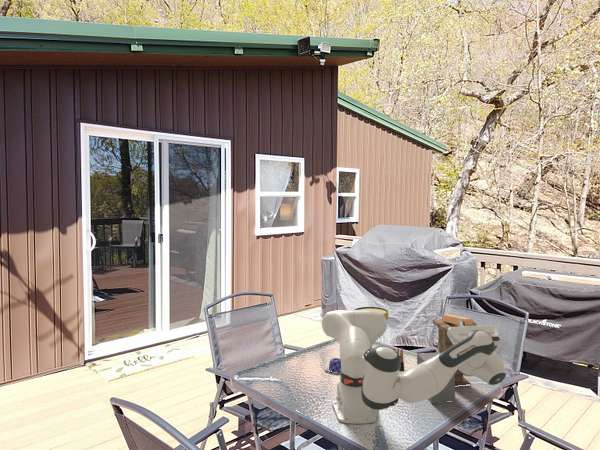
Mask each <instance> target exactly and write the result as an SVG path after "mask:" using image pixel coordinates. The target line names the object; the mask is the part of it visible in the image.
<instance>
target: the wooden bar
mask: <svg viewBox="0 0 600 450" xmlns="http://www.w3.org/2000/svg"><path fill="white" fill-rule="evenodd" d="M441 317H442V319H441V320H443V321H444V322H448V323H452V324H457V325H460V324H459V320H464V322H465V323H464V326H473V322H472V319H473V318H469V317H465V316H460V315H453V314H451V313H450V314H449V313H447V314H444V313H443V314H442V316H441Z"/></svg>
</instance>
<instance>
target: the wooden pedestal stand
mask: <svg viewBox="0 0 600 450" xmlns="http://www.w3.org/2000/svg"><path fill="white" fill-rule="evenodd" d="M432 324H433V325H434V326H436V327H437V328H438V329H437V335H438V337H437V340H438V342H437V343H438V346H437V347H438V350H437V351H438V352H439V353H442V352H444V351H445V350H447V349H448V348H450V347H452V346H453V344H452V342H451V341H450V339H449V337H448V336H447V331H448V329H449V327H460V325H457V324H452V323H448V322H444V321H443V319H432ZM438 352H437V353H438ZM466 384H470V385H471V382H470V381H469V380H468V379H466V377H465V376H464V375H462V374H461V373H459V372H458V371H456V372H455V386H458V385H466Z"/></svg>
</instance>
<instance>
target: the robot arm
mask: <svg viewBox="0 0 600 450" xmlns="http://www.w3.org/2000/svg"><path fill="white" fill-rule="evenodd" d="M471 319H472V322H473V326H464V323H465V322H464V320H459V324H460V327H449V329H448V331H447V336H448V337H449V339H450V341H451V342H452V344H453V346H452V347H450V348H448V349H447V350H445V351H444V352H442V353H440V354H438V355H436V356H435V357H433V358H431V359H429V360H427V361H425V362H422V363H420V364H418V365H417V364H416V365H414V366H412V367H410V368H408V369H407V370H404V371H399V369H400V366H401V360H400V355H399V354H400V353H399V354H398V353H397V350H396V349H395V350H396V351H395V350H394V348H392V347H390V346H388V345H387V346H386V345H378V346H374V347H373V345H374V344H375V343H376V341H377V340H378V339H380V338H381V337H382V336H384V335H385V333H386V330H387V327H388V323H387V322H388V320H386V318H385V316H384V315H383V314H382V313H381V312H378V311H373V310H355V309H337V310H331V311H327V312H326V313H325V314H324V315H323V316H322V320H321V328H322V331H323V333H324V335H326V336H327V337H329V338H332V339H334V340H335V341H337V342H338V343H339V358H340V360H341V370H340V373H339V379H340V380H339V382H338V383H337V384H336V400H333V401H332V402H331V406H332V408H333V411H334V413H335V416H336V418H337V421H338V422H340V423H345V424H351V425H352V424H353V425H354V424H355V425H361V424H362V425H363V424H371V423H375V422H376V420H377V415H378V412H379V411H381V410H386V409H388V408H390V407H395V406H396V405H397V404H398V403H399V399H400V400H402V401H403V402H404V403H407V404H415V403H420V402H423V401H428V399H429V398H431V397H433V396H435V395H437V394H438V393H440V392H441V391H442V390H443V389H444V388H445V387H446V386H447V384H448V383H449V381H450V380H451V378H452V377H453V375H454V374H455V372H456V371H458V372H459V373H461V374H462V375H463V376H464V377H466V376H467V377H476V378H479V379H480V380H482V381H484V382H485V383H486V384H488V385H489V386H495V385H499V384H500V383H502V382H503V381H504V380H505V378H506V376H507V369H506V367H505V364H504V363H503V361H502V359H501V357H500V355H499V354H497V352H498V351H499V350H500V349H501V346H502V345H503V341H504V340H503V337H502V336H501V332H500V330H499V328H498V327H497V326H496V325H494V324H488V325H487V324H486V325H481V324H479V323H478V322H477V321H475V319H474V318H471ZM371 347H372V348H371Z"/></svg>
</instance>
